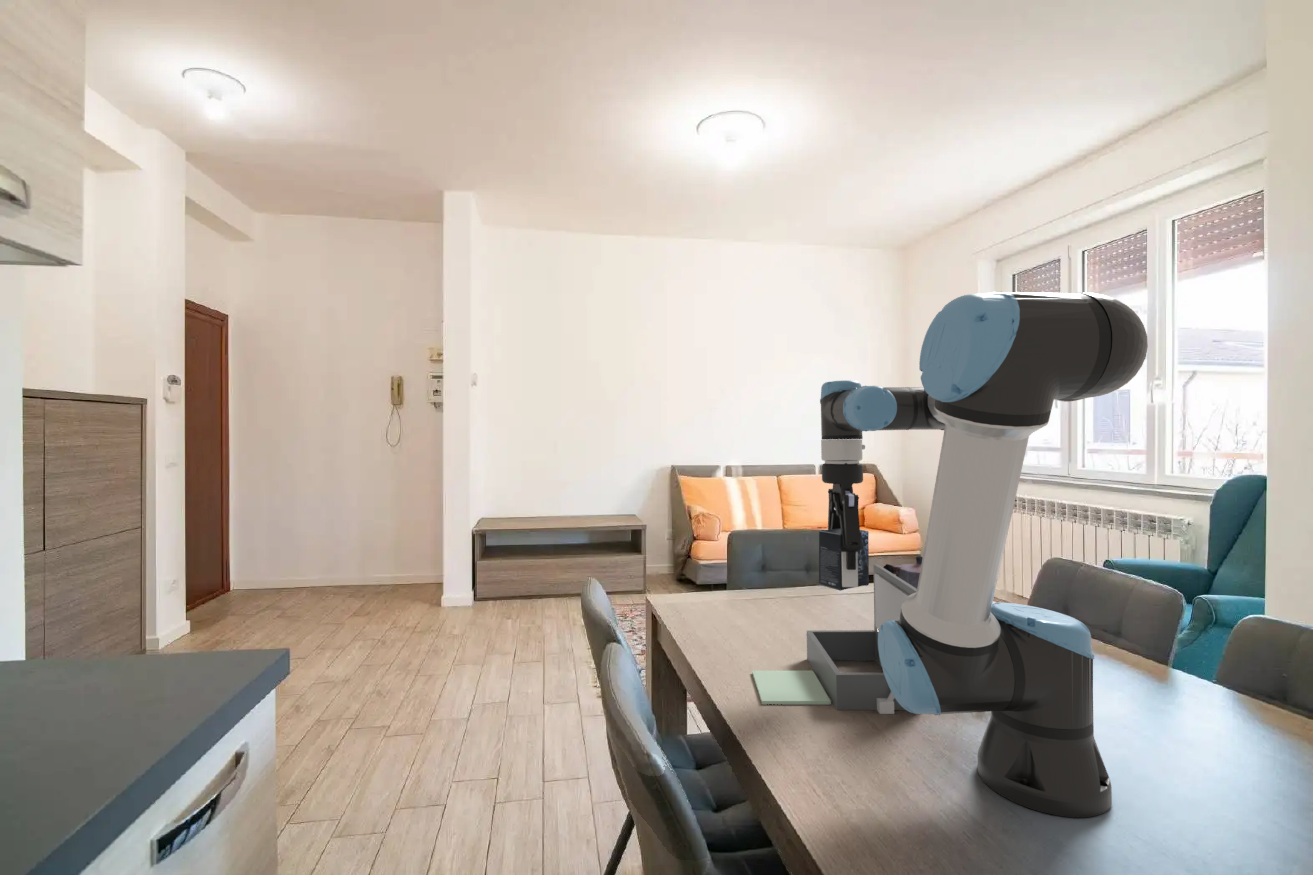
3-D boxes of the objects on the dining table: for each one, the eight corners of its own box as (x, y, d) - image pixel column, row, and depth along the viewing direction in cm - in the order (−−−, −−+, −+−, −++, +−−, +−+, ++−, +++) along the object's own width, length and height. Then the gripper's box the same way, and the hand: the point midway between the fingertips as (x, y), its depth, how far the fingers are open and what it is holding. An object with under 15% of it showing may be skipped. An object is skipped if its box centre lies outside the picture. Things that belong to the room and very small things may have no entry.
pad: (830, 704, 106) (830, 701, 106) (762, 704, 106) (762, 700, 106) (813, 673, 120) (813, 670, 120) (752, 673, 120) (752, 670, 120)
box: (841, 591, 111) (840, 533, 111) (818, 585, 116) (817, 530, 116) (870, 585, 115) (869, 530, 115) (846, 579, 120) (846, 526, 120)
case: (934, 714, 102) (932, 595, 102) (839, 713, 102) (837, 595, 102) (882, 658, 127) (881, 563, 127) (807, 658, 128) (805, 564, 128)
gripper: (878, 464, 104) (880, 595, 104) (848, 459, 126) (849, 568, 126) (834, 465, 105) (836, 595, 105) (811, 460, 126) (813, 568, 126)
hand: (843, 580), depth 115 cm, fingers closed on box, 9 cm apart
